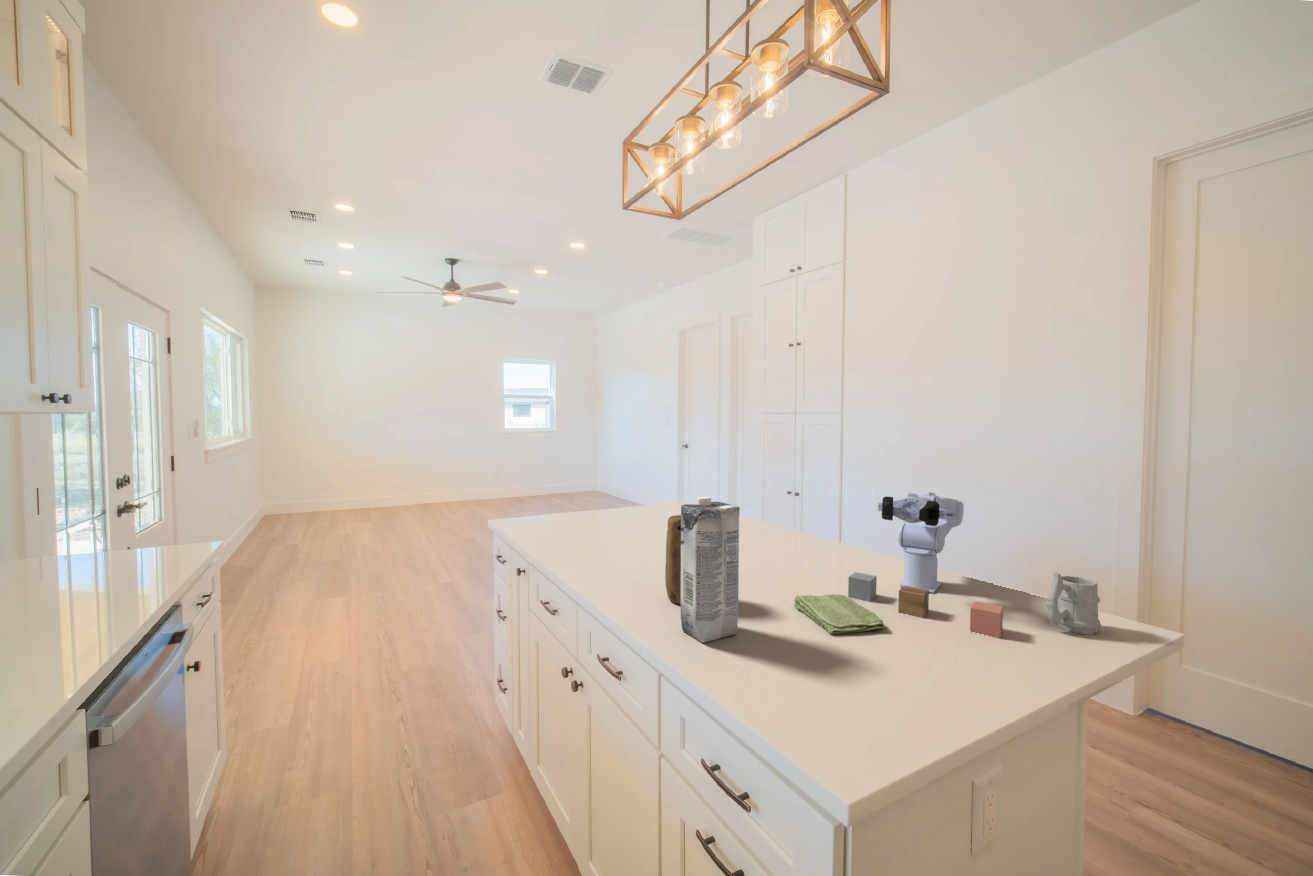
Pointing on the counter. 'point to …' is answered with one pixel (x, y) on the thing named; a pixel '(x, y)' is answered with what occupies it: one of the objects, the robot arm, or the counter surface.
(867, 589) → the slate grey block
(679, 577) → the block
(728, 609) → the juice carton
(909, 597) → the walnut block
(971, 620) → the brick red block
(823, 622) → the washcloth
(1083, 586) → the mug
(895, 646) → the counter surface
